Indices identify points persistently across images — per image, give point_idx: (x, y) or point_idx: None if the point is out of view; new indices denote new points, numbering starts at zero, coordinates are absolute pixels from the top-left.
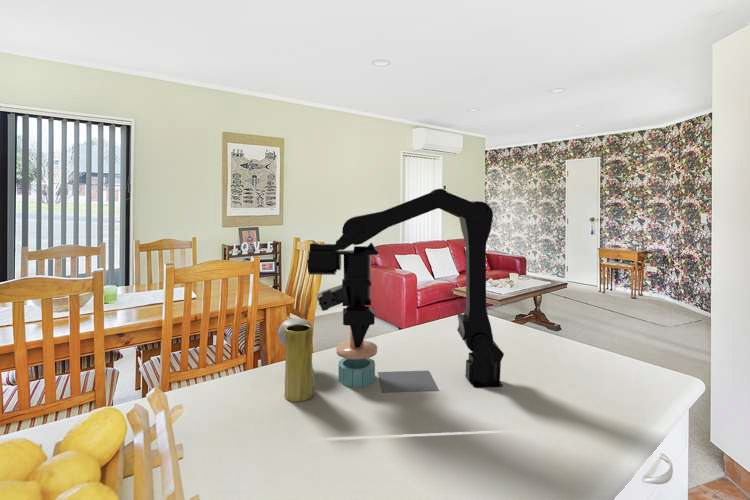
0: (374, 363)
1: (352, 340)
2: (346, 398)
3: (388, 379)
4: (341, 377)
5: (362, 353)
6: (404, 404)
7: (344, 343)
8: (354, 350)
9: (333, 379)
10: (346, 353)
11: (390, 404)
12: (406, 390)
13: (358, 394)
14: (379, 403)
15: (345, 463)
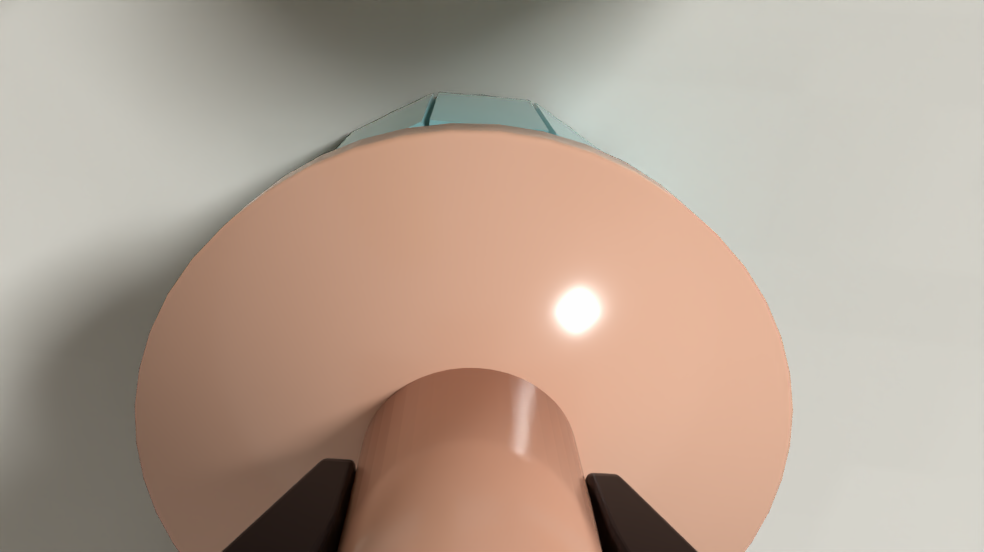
0: None
1: (373, 495)
2: (116, 135)
3: None
4: (375, 128)
5: (192, 507)
6: (45, 523)
7: (680, 298)
8: (325, 417)
9: (525, 44)
10: (196, 289)
11: (36, 444)
12: None
13: (193, 245)
14: (45, 377)
15: None
